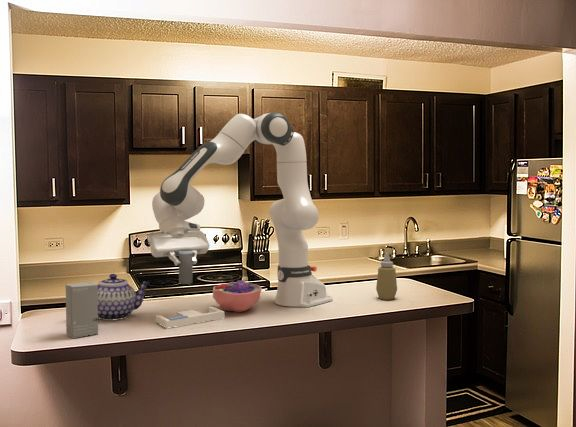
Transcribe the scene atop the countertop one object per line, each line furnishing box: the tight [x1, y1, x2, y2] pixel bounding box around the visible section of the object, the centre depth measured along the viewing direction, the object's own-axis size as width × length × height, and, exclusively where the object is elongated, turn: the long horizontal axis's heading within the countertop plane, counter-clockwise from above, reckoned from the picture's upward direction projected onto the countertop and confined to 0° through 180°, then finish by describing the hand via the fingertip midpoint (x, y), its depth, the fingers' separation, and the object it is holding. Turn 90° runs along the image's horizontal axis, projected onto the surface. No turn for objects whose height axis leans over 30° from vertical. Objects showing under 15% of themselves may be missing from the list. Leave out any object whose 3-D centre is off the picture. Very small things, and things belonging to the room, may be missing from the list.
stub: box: [178, 249, 194, 285], centre depth 198 cm, size 5×5×11 cm
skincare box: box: [64, 282, 99, 339], centre depth 184 cm, size 8×7×16 cm
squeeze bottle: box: [375, 252, 398, 301], centre depth 230 cm, size 8×8×18 cm
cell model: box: [212, 279, 263, 313], centre depth 213 cm, size 17×20×11 cm
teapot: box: [97, 273, 151, 321], centre depth 205 cm, size 25×15×15 cm, turn 110°
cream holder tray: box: [155, 306, 226, 329], centre depth 199 cm, size 21×8×3 cm, turn 125°
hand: (186, 263), depth 198 cm, fingers closed on stub, 4 cm apart
